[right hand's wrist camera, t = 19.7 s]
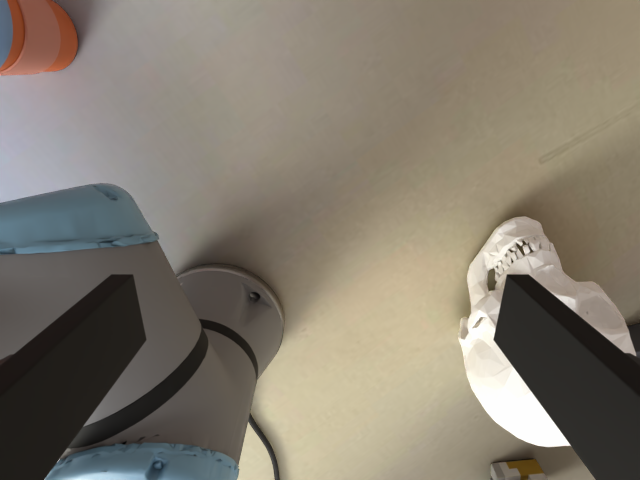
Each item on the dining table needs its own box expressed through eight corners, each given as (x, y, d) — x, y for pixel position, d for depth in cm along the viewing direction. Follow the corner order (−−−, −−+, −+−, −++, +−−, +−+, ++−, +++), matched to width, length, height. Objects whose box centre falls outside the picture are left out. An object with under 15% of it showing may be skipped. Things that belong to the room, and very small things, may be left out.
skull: (567, 201, 39) (713, 263, 24) (556, 364, 46) (661, 487, 32) (442, 220, 40) (506, 290, 25) (451, 376, 48) (505, 499, 33)
